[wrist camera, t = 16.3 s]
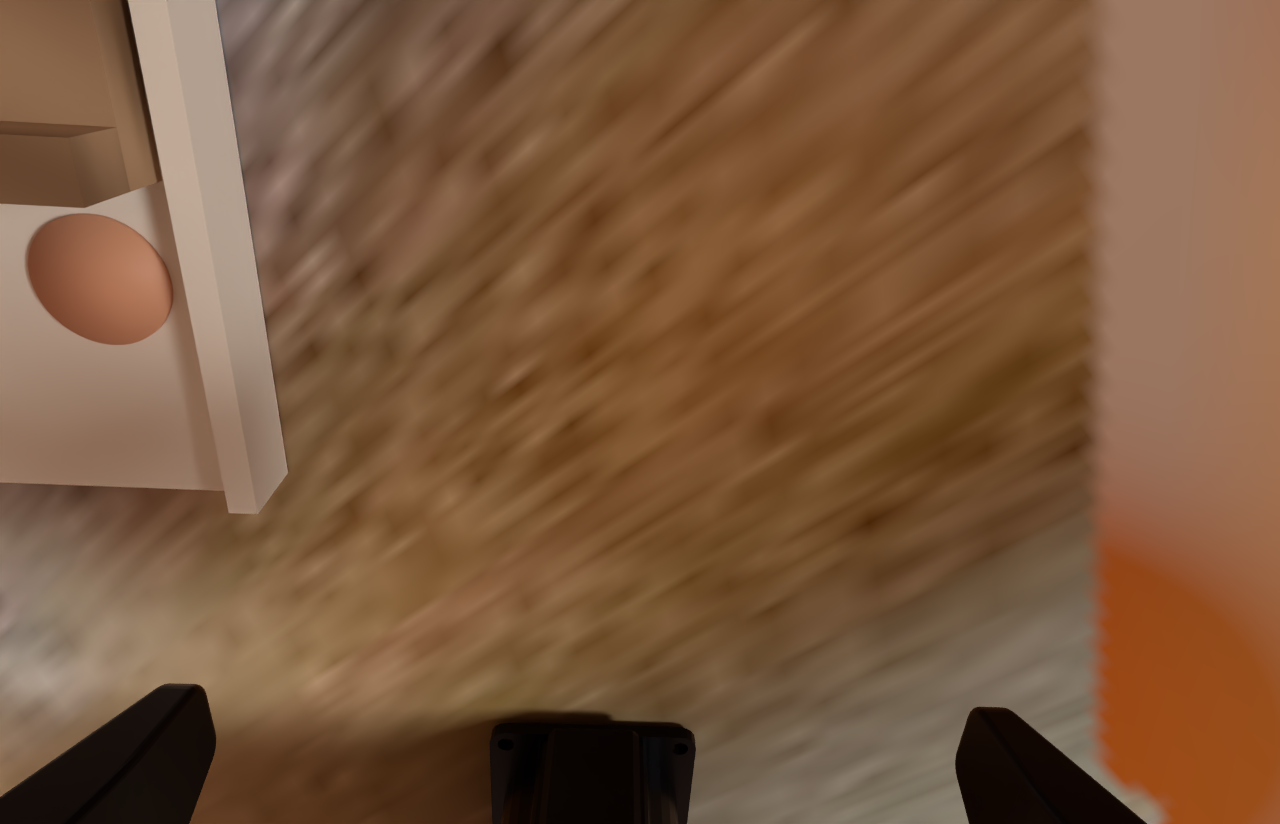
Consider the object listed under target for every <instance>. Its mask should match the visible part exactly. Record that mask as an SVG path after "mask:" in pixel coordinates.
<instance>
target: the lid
mask: <svg viewBox="0 0 1280 824" xmlns="http://www.w3.org/2000/svg"><path fill="white" fill-rule="evenodd" d="M160 181H162V178H161V173H160V168H159V163H158V158H157V153H156V148H155V142H154V137H153V132H152V127H151V122H150V117H149V112H148V107H147V102H146V97H145V92H144V87H143V82H142V77H141V71H140V66H139V61H138V56H137V51H136V46H135V41H134V36H133V31H132V26H131V21H130V16H129V11H128V6H127V0H0V204H16V205H35V206H55V207H74V208H86V207H89V206H92V205H95V204H97V203H100V202H103V201H106V200H109V199H112V198H114V197H117V196H120V195H123V194H126V193H128V192H131V191H134V190H137V189H140V188H143V187H145V186H148V185H151V184H154V183H157V182H160Z"/></svg>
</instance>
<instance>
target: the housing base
mask: <svg viewBox="0 0 1280 824" xmlns="http://www.w3.org/2000/svg"><path fill="white" fill-rule="evenodd" d="M127 6H128V11H129V16H130V21H131V26H132V31H133V36H134V41H135V46H136V51H137V56H138V61H139V66H140V71H141V77H142V82H143V87H144V92H145V97H146V102H147V107H148V112H149V117H150V122H151V127H152V132H153V137H154V142H155V148H156V153H157V158H158V163H159V168H160V173H161V178H162V181H160V182H157V183H154V184H151V185H148V186H145V187H143V188H140V189H137V190H134V191H131V192H128V193H126V194H123V195H120V196H117V197H114V198H112V199H109V200H106V201H103V202H100V203H97V204H95V205H92V206H89V207H86V208H74V207H55V206H35V205H16V204H0V482H5V483H31V484H57V485H84V486H110V487H136V488H162V489H188V490H215V491H225V496H226V502H227V507H228V512H229V513H239V514H258V513H259V512H260V510H261V509H262V508H263V506H264V505H265V504H266V502H267V501H268V500H269V498H270V497H271V495H272V494H273V493H274V491H275V490H276V489H277V487H278V486H279V485H280V483H281V482H282V481H283V479H284V478H285V476H286V475H287V474H288V470H287V463H286V457H285V450H284V444H283V437H282V431H281V425H280V418H279V412H278V405H277V399H276V392H275V386H274V379H273V373H272V366H271V360H270V353H269V347H268V340H267V334H266V327H265V321H264V315H263V308H262V302H261V295H260V289H259V282H258V276H257V269H256V263H255V256H254V250H253V243H252V237H251V230H250V224H249V218H248V211H247V205H246V198H245V192H244V185H243V179H242V172H241V166H240V159H239V153H238V146H237V140H236V133H235V127H234V120H233V114H232V108H231V101H230V95H229V88H228V82H227V75H226V69H225V62H224V56H223V49H222V43H221V36H220V30H219V23H218V17H217V10H216V4H215V0H127Z"/></svg>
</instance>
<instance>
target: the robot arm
mask: <svg viewBox="0 0 1280 824" xmlns="http://www.w3.org/2000/svg"><path fill="white" fill-rule="evenodd" d="M504 739H510V740H504ZM679 743H682V744H681V745H677V744H679ZM215 748H216V733H215V728H214V724H213V720H212V716H211V712H210V708H209V703H208V699H207V695H206V692H205V690H204V689H203V688H202V687H201V686H200V685H197V684H164V685H162V686H160V687H158V688H156V689H155V690H153V691H152V692H150V693H149V694H148V695H146V696H145V697H143V698H142V699H140V700H139V701H137V702H136V703H135V704H133V705H132V706H130V707H129V708H127V709H126V710H125V711H123V712H122V713H120V714H119V715H117V716H116V717H114V718H113V719H112V720H110V721H109V722H107V723H106V724H104V725H103V726H102V727H100V728H99V729H97V730H96V731H94V732H93V733H91V734H90V735H89V736H87V737H86V738H84V739H83V740H81V741H80V742H79V743H77V744H76V745H74V746H73V747H71V748H70V749H69V750H67V751H66V752H64V753H63V754H61V755H60V756H58V757H57V758H56V759H54V760H53V761H51V762H50V763H48V764H47V765H46V766H44V767H43V768H41V769H40V770H38V771H37V772H35V773H34V774H33V775H31V776H30V777H28V778H27V779H25V780H24V781H23V782H21V783H20V784H18V785H17V786H15V787H14V788H12V789H11V790H10V791H8V792H7V793H5V794H4V795H2V796H1V797H0V824H189V823H190V820H191V817H192V814H193V812H194V809H195V806H196V803H197V801H198V798H199V795H200V792H201V790H202V787H203V784H204V781H205V779H206V776H207V773H208V770H209V768H210V765H211V762H212V760H213V756H214V753H215ZM695 752H696V747H695V738H694V734H693V733H692V732H691V731H690V730H688V729H685V728H672V727H636V726H599V725H562V724H525V723H503V724H499V725H497V726H496V727H495V728H494V729H493V731H492V735H491V740H490V764H491V793H492V822H493V824H687V818H688V810H689V801H690V793H691V785H692V776H693V768H694V760H695ZM955 767H956V775H957V779H958V783H959V787H960V791H961V794H962V798H963V802H964V806H965V810H966V813H967V817H968V821H969V824H1147V823H1146V822H1145V821H1143V820H1142V819H1141V818H1140V817H1139V816H1137V815H1136V814H1135V813H1134V812H1133V811H1131V810H1130V809H1129V808H1128V807H1127V806H1125V805H1124V804H1123V803H1122V802H1121V801H1119V800H1118V799H1117V798H1116V797H1115V796H1113V795H1112V794H1111V793H1110V792H1109V791H1107V790H1106V789H1105V788H1104V787H1103V786H1101V785H1100V784H1099V783H1098V782H1097V781H1096V780H1094V779H1093V778H1092V777H1091V776H1090V775H1088V774H1087V773H1086V772H1085V771H1084V770H1082V769H1081V768H1080V767H1079V766H1078V765H1076V764H1075V763H1074V762H1073V761H1072V760H1070V759H1069V758H1068V757H1067V756H1066V755H1064V754H1063V753H1062V752H1061V751H1060V750H1058V749H1057V748H1056V747H1055V746H1054V745H1052V744H1051V743H1050V742H1049V741H1048V740H1047V739H1045V738H1044V737H1043V736H1042V735H1041V734H1039V733H1038V732H1037V731H1036V730H1035V729H1033V728H1032V727H1031V726H1030V725H1029V724H1027V723H1026V722H1025V721H1024V720H1023V719H1021V718H1020V717H1019V716H1018V715H1017V714H1015V713H1014V712H1013V711H1011V710H1009V709H1007V708H1000V707H976V708H974V709H973V710H972V711H971V712H970V714H969V716H968V719H967V722H966V725H965V728H964V731H963V734H962V737H961V741H960V744H959V747H958V750H957V754H956V760H955Z"/></svg>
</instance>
